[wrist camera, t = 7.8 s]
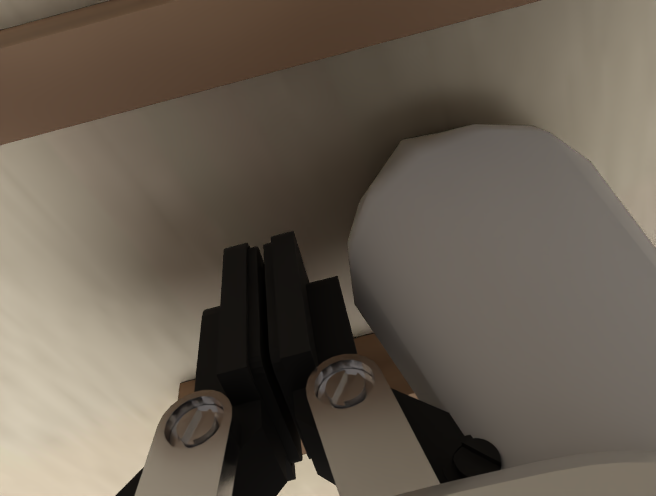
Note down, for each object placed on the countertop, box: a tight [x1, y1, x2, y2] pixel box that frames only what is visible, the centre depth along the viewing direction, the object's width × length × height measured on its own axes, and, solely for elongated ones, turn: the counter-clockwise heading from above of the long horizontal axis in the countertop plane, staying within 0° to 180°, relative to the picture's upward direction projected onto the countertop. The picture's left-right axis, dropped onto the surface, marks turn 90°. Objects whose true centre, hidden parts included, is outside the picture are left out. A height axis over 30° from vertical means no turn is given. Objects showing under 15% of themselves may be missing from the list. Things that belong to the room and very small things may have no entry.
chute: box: [0, 0, 540, 455], centre depth 11 cm, size 12×14×5 cm
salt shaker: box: [347, 124, 656, 470], centre depth 8 cm, size 6×6×13 cm
